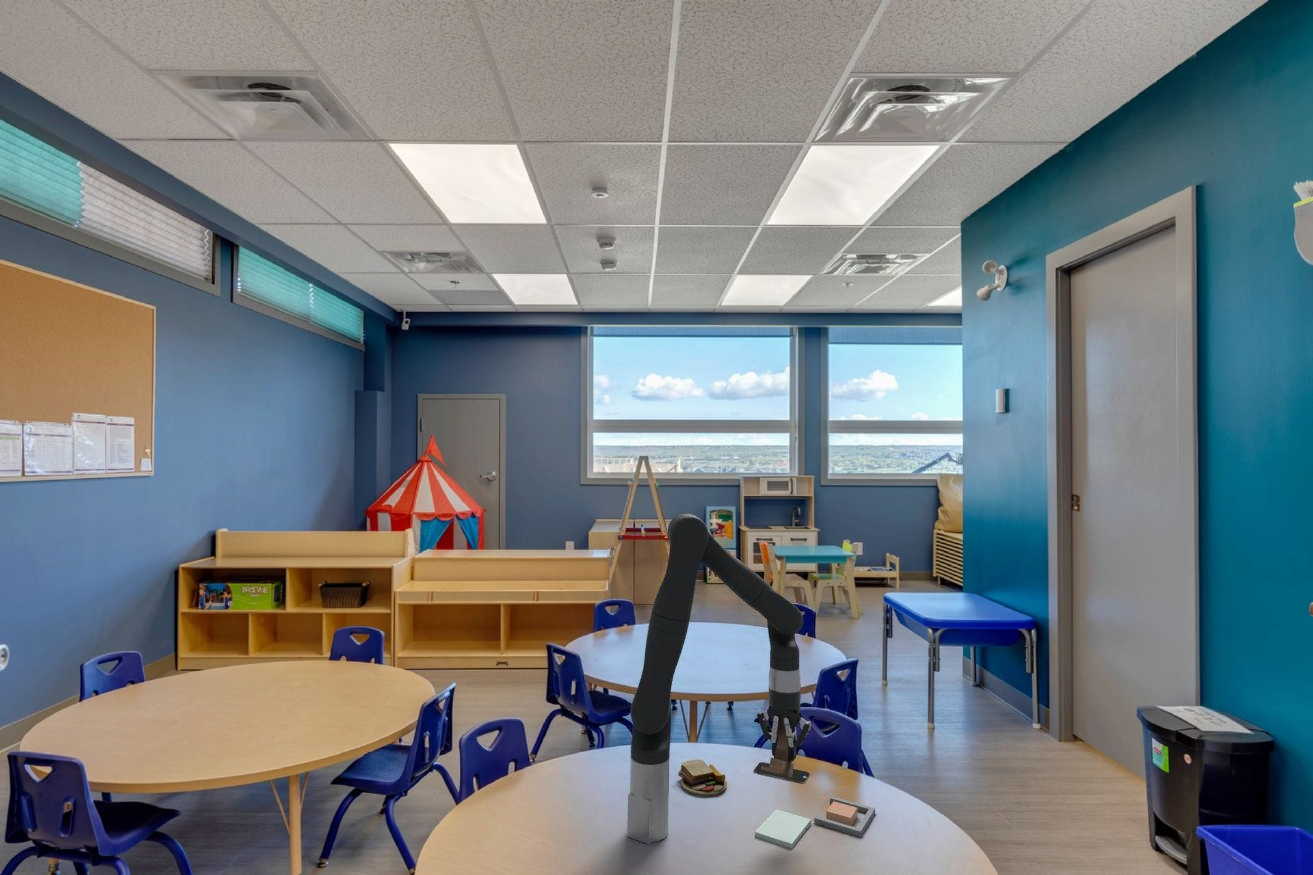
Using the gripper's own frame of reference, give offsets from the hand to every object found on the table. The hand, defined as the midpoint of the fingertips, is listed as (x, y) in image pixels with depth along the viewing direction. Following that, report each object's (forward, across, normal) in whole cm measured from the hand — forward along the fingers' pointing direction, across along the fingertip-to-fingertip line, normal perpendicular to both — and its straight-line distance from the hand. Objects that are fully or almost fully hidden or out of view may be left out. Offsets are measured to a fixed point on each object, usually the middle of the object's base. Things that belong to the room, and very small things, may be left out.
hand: (783, 759), depth 160 cm
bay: (+16, +10, +14) cm, 24 cm away
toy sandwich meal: (+17, -27, +9) cm, 33 cm away
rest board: (+16, 0, 0) cm, 16 cm away
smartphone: (+17, -12, +29) cm, 36 cm away
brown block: (+3, 0, -2) cm, 4 cm away
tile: (+17, +10, +14) cm, 24 cm away
